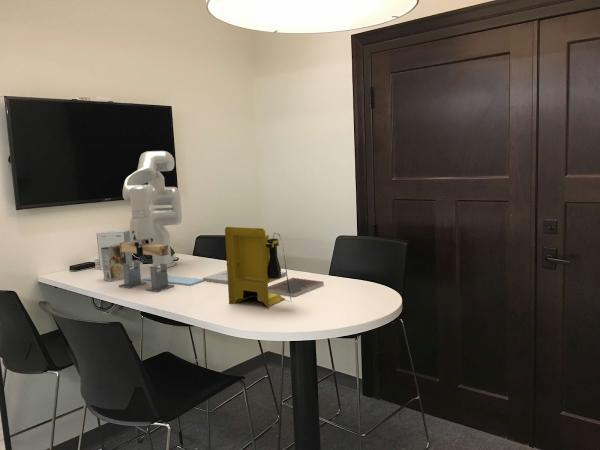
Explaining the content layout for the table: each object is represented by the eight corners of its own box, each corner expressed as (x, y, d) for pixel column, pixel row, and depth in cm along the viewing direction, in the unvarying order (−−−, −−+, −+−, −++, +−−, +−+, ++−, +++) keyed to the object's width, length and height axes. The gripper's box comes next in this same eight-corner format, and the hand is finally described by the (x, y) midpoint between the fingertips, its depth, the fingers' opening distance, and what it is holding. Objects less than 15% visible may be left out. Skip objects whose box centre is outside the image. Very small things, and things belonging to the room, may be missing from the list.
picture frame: (294, 299, 199) (323, 286, 216) (294, 292, 198) (323, 281, 216) (262, 293, 208) (293, 282, 226) (262, 288, 208) (292, 277, 225)
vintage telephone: (305, 302, 191) (302, 224, 187) (286, 312, 179) (282, 229, 175) (239, 294, 207) (236, 221, 203) (218, 302, 195) (213, 226, 191)
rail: (127, 250, 231) (126, 241, 231) (168, 254, 219) (168, 245, 218) (120, 251, 228) (119, 243, 227) (161, 256, 215) (161, 246, 215)
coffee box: (120, 276, 249) (117, 244, 247) (128, 277, 245) (125, 245, 243) (103, 280, 242) (100, 247, 240) (111, 281, 238) (108, 248, 236)
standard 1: (136, 282, 235) (134, 260, 234) (146, 283, 231) (145, 261, 230) (118, 287, 226) (117, 264, 225) (129, 288, 223) (127, 265, 222)
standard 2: (162, 285, 227) (160, 262, 225) (174, 286, 223) (172, 263, 222) (145, 290, 218) (144, 267, 217) (157, 292, 214) (155, 268, 213)
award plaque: (236, 271, 252) (236, 267, 252) (286, 276, 237) (286, 272, 237) (203, 282, 232) (202, 277, 231) (255, 288, 216) (255, 283, 216)
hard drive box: (133, 266, 273) (130, 230, 271) (127, 269, 266) (124, 232, 263) (106, 266, 275) (103, 230, 273) (99, 269, 267) (96, 232, 265)
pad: (158, 275, 247) (157, 274, 247) (205, 280, 232) (205, 279, 232) (142, 280, 238) (142, 278, 238) (190, 285, 224) (190, 284, 223)
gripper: (148, 211, 230) (152, 250, 232) (119, 216, 215) (123, 258, 218) (160, 212, 226) (163, 251, 229) (131, 217, 212) (135, 259, 214)
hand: (144, 254), depth 223 cm, fingers closed on rail, 4 cm apart
